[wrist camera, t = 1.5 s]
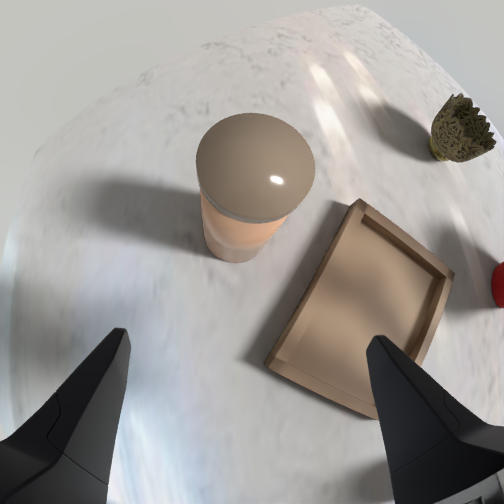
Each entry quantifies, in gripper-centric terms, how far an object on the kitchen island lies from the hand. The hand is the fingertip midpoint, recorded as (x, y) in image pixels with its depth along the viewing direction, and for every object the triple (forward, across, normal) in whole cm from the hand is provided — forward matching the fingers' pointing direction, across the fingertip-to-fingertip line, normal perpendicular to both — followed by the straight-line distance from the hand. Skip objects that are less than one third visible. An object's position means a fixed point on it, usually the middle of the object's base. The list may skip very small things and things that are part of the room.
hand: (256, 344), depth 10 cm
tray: (+10, -12, +9) cm, 18 cm away
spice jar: (+15, 0, +4) cm, 15 cm away
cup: (+24, -24, -5) cm, 35 cm away
